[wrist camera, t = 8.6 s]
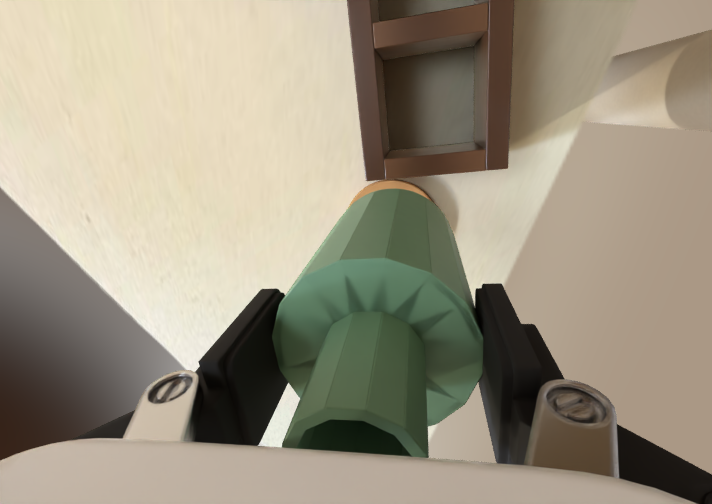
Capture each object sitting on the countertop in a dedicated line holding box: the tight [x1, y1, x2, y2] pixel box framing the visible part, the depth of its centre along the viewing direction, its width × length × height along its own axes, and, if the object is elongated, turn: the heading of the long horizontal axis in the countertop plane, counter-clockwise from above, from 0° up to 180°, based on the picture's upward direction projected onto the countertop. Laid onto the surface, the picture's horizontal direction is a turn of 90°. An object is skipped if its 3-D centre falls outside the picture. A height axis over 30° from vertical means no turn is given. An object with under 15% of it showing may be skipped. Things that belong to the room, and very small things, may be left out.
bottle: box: [272, 188, 483, 458], centre depth 13 cm, size 6×6×12 cm
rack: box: [347, 0, 514, 181], centre depth 25 cm, size 10×19×6 cm, turn 7°
